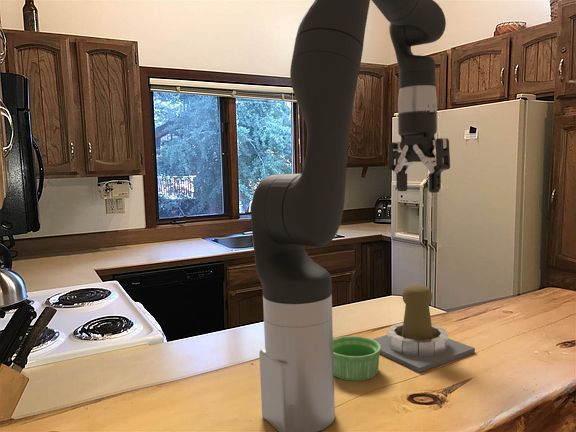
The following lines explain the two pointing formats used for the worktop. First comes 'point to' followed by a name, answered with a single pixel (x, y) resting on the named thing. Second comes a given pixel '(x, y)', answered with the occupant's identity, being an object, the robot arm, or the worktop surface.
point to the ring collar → (417, 342)
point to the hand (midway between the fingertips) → (417, 191)
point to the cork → (417, 313)
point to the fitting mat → (427, 362)
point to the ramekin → (355, 357)
